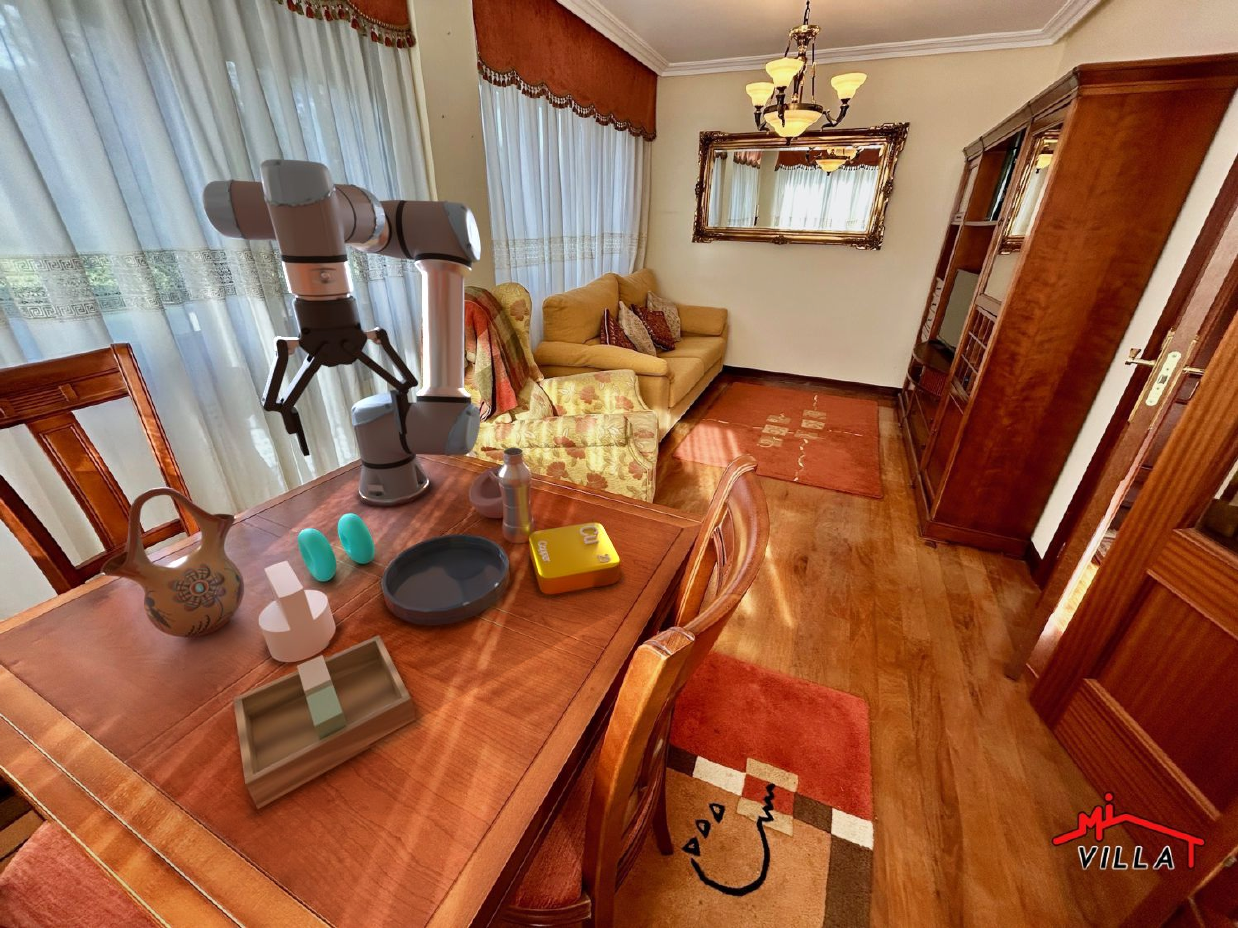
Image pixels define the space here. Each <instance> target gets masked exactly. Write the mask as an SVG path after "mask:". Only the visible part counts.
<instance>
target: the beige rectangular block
mask: <svg viewBox="0 0 1238 928" xmlns="http://www.w3.org/2000/svg"><path fill="white" fill-rule="evenodd" d="M324 659H325V658H324V656H323V654H322V655H321V654H320V655H319V656H316V657H314V658H312V659H309V660H306V661H305V662H302V663H300V664H298V665H296V668H297V670H298V672H299V675H300V679H301V682H302V685H303V689H304V692H305V695H306V697H308V696H310V695H312V694H314V693H316V692H318V691H321V690H323V689H325V688H327V687H329V686H331V685H333V684H332V681H331V678H330V675H329V672H328V670H327V667H326V664H325V661H324Z"/></svg>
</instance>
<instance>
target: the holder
mask: <svg viewBox="0 0 1238 928" xmlns="http://www.w3.org/2000/svg"><path fill="white" fill-rule="evenodd" d="M324 661H325V664H326V667H327V670H328V672H329V675H330V678H331V681H332V684H333V686H334V689H335V692H336V695H337V698H338V701H339V703H340V706H341V709H342V712H343V715H344V718H345V721H346V724H347V727H345V728H343V729H341V730H339V731H337V732H335V733H333V734H331V735H329V736H327V737H325V738H323V739H321V740H319V738H318V735H317V732H316V729H315V727H314V723H313V720H312V716H311V713H310V709H309V706H308V702H307V699H306V695H305V692H304V689H303V685H302V682H301V679H300V675H299V672H298V669H297V670H295V671H292V672H290V673H288V674H286V675H284V676H281V677H279V678H277V679H274V680H271V681H269V682H267V683H264V684H263V685H261V686H259V687H256V688H254V689H252V690H249V691H246V692H245V693H242V694H240V695H237V696H235V697H233V698H232V699H233V701H232V702H233V707H234V714H235V720H236V727H237V728H236V729H237V734H238V735H237V736H238V741H239V749H240V756H241V762H242V771H243V778H244V783H245V787H246V789H247V791H248V792H249V795H250V797H251V798H252V800H253V803H254V805H255V806H256V808H257V810H259V809H261V808H263V807H265V806H267V805H268V804H270V803H272V802H274V801H275V800H277V799H279V798H281V797H283V796H285V795H286V794H288V793H290V792H292V791H295V790H296V789H297V788H299V787H301V786H303V785H305V784H306V783H308V782H310V781H313V780H314V779H315V778H317V777H319V776H321V775H323V774H324V773H326V772H328V771H330V770H332V769H334V768H336V767H337V766H339V765H341V764H344V763H345V762H346V761H348V760H350V759H352V758H354V757H355V756H358V755H359V754H361V753H363V752H364V751H366V750H368V749H370V748H372V747H373V746H376V745H377V744H379V743H381V742H383V741H385V740H386V739H388V738H390V737H392V736H394V735H395V734H397V733H399V732H401V731H402V730H405V729H406V728H408V727H410V726H412V725H413V724H416V723H417V720H416V713H415V709H414V705H413V702H412V701H413V700H412V698H411V696H410V693H409V691H408V690H407V687H406V685H405V684H404V682H403V680H402V677H401V675H400V674H399V671H398V670H397V668H396V666H395V663H394V661H393V659H392V657H391V655H390V653H389V651H388V650H387V647H386V645H385V643H384V641H383V639H382V637H381V636H380V634H379V635H376V636H373V637H371V638H369V639H367V640H364V641H362V642H360V643H357V644H355V645H353V646H349V647H347V648H346V649H343V650H341V651H339V652H337V653H333V654H332V655H329V656H327V657H325V658H324Z"/></svg>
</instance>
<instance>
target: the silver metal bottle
mask: <svg viewBox="0 0 1238 928" xmlns="http://www.w3.org/2000/svg"><path fill="white" fill-rule="evenodd" d="M502 455H503V457H502V461H503V464H502V465H503V466H502V467H501V468H500V470H499V472H498V476H497V478H498V483H499V487H500V490H501V494H502V501H503V518H502V526H501V527H502V528H501V529H502V530H501V531H502V534H503V537H504V539H506V540H507V541H508V542H509V543H511V544H514V545H515V544H516V545H520V544H526V543H529V536H530V534H532V533H533V532H536V524H535V523H536V522H535V519H534V516H533V511H532V506H531V490H532V478H533V477H532V476H533V475H532V473H531V469H530V468H529V467H528V466H527V465H526V464H525V462H524V460H525V456H524V451H523V449H522V448H519V447H507V448H506V449H504V450H503V452H502Z"/></svg>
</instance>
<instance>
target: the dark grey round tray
mask: <svg viewBox="0 0 1238 928" xmlns="http://www.w3.org/2000/svg"><path fill="white" fill-rule="evenodd" d="M510 573H511V572H510V563H509V555H508V554H507V552H506V551H505V548H504V547H503V546H502V545H500V544H499V543H498V542H496V541H494V540H493V539H489V538H488V537H484V536H482V535H475V534H468V533H455V534H446V535H440V536H436V537H435V536H434V537H432V538H429V539H428V538H427V539H425V540H423V541H419V542H417V543H416V544H413V545H411V546H410V547H408V548H406V549H403V550H402V552H400V553H399V554H398V555H396V556H395V557H394V558H393V559H392V560H391V561H390V562H389V564H388V565H387V566H386V567H385V569H384V570H383V573H382V577H381V581H380V585H381V589H382V593H383V598H384V601H385V605H386V607H387V609H388V610H389V611H390V612H391V613H392V614H393V615H394V616H395V617H397V618H398V619H400V620H403V621H404V622H407V623H410V624H414V625H422V626H441V625H442V626H443V625H448V624H454V623H458V622H461V621H464V620H467V619H470V618H472V617H474V616H476V615H479V614H481V613H483V612H484V611H486V610H487V609H489V608H490V607H491V606H493V605H495V603H496V602H498V600H499V599H500V598H501V597H502V596H503V595H504V593H505V592H506V590H507V588H508V586H509V583H510V579H511V574H510Z"/></svg>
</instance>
